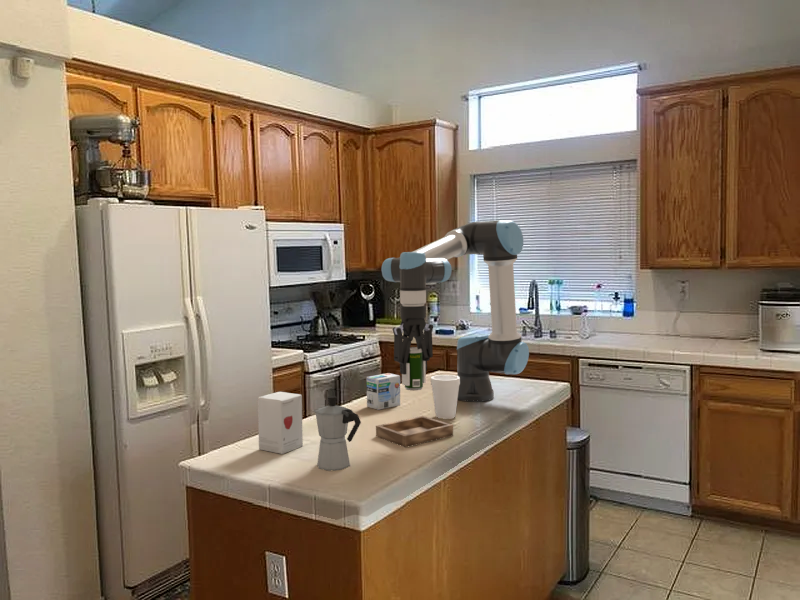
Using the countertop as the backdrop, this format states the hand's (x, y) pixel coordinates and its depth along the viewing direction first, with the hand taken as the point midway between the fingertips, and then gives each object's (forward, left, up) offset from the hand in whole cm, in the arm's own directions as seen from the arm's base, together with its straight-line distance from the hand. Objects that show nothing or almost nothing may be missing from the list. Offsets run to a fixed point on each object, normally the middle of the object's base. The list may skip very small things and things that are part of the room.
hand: (413, 383), depth 194 cm
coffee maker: (+32, +8, -16) cm, 37 cm away
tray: (0, 0, -16) cm, 16 cm away
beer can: (0, 0, -2) cm, 2 cm away
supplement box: (+36, -15, -16) cm, 42 cm away
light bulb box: (-15, -36, -16) cm, 42 cm away
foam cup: (-22, -11, -16) cm, 29 cm away
